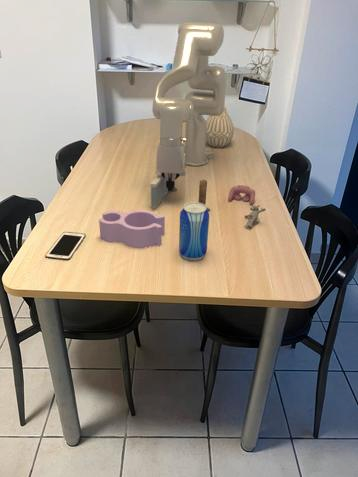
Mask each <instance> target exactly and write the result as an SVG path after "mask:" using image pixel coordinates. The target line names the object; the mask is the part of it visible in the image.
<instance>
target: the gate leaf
mask: <svg viewBox="0 0 358 477" xmlns="http://www.w3.org/2000/svg"><path fill="white" fill-rule="evenodd" d="M169 177H170V173H169ZM149 185H150V193H151V194H150V196H151V197H150V198H151V201H150V202H151V203H150V205H151V207H150V208H153V209H156V208H157V206H158V205H159V204H160V203H161V201H162V200H163V199H164V197H165V196H166V195H167V194H168V193H167V192H168V188H166V180H165V179H164V178H163V177H162V176H161V175H157V176H156V177H155V178H154V179H153V180H152V181H151V182H150V184H149Z"/></svg>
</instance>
